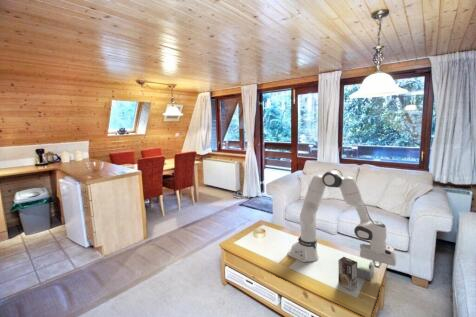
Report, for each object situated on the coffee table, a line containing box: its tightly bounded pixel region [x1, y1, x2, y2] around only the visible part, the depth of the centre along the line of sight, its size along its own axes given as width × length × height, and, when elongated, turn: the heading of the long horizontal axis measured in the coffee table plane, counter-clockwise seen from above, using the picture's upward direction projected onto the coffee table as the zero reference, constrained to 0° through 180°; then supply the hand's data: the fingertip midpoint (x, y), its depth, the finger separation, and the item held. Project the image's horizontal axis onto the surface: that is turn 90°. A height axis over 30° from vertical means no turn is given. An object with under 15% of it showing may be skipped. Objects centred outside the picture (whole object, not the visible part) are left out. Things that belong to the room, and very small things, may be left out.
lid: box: [349, 256, 374, 272], centre depth 162 cm, size 15×13×3 cm
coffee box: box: [337, 256, 358, 292], centre depth 149 cm, size 9×6×16 cm
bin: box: [357, 264, 375, 282], centre depth 162 cm, size 15×13×5 cm
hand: (377, 267), depth 156 cm, fingers closed
